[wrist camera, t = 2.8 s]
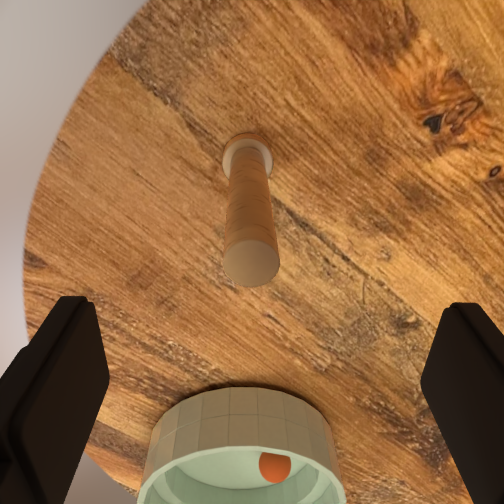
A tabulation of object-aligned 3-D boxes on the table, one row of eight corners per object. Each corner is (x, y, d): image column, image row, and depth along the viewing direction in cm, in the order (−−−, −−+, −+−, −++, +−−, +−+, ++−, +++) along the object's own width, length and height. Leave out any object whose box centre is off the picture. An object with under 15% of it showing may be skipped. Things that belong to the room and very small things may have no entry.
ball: (257, 458, 39) (258, 490, 36) (258, 439, 37) (259, 471, 35) (288, 458, 39) (291, 489, 36) (290, 439, 37) (294, 470, 35)
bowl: (160, 493, 43) (149, 559, 38) (141, 381, 34) (123, 447, 29) (321, 492, 43) (331, 557, 38) (343, 381, 34) (361, 445, 29)
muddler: (222, 181, 25) (209, 299, 15) (222, 132, 23) (206, 225, 13) (271, 181, 25) (291, 299, 15) (273, 133, 24) (297, 226, 13)
